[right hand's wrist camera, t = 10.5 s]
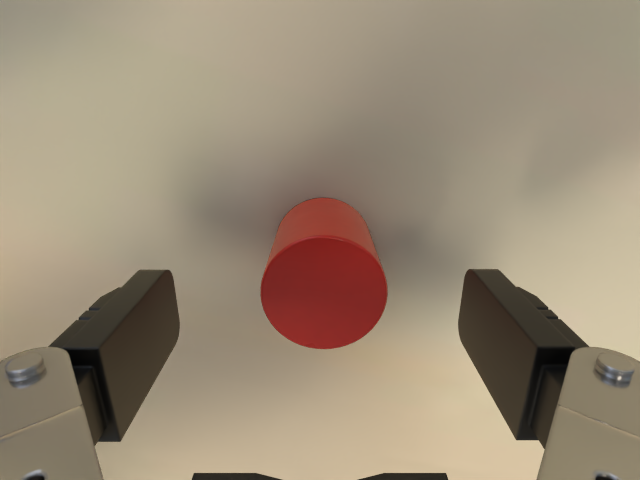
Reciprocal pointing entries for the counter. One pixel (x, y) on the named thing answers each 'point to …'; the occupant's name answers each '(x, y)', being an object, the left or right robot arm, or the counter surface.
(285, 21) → the counter surface
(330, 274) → the canister
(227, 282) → the counter surface
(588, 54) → the counter surface
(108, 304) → the right robot arm
